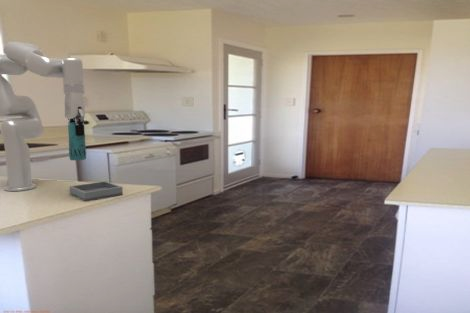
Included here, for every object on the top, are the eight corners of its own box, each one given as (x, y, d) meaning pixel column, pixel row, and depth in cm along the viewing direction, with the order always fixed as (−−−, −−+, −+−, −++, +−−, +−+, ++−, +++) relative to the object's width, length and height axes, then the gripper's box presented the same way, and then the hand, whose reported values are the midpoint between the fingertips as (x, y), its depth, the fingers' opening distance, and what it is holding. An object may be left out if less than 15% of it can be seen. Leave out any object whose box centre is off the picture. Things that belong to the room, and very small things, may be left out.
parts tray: (69, 194, 165) (69, 186, 164) (105, 188, 176) (105, 181, 175) (85, 201, 153) (84, 192, 153) (122, 194, 164) (122, 186, 164)
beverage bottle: (66, 163, 157) (62, 114, 154) (76, 161, 163) (73, 113, 160) (80, 164, 155) (76, 114, 152) (90, 161, 161) (87, 113, 159)
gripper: (57, 90, 159) (60, 134, 162) (71, 89, 146) (75, 136, 149) (75, 90, 164) (78, 133, 166) (91, 89, 151) (94, 135, 154)
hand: (76, 134), depth 158 cm, fingers closed on beverage bottle, 6 cm apart
